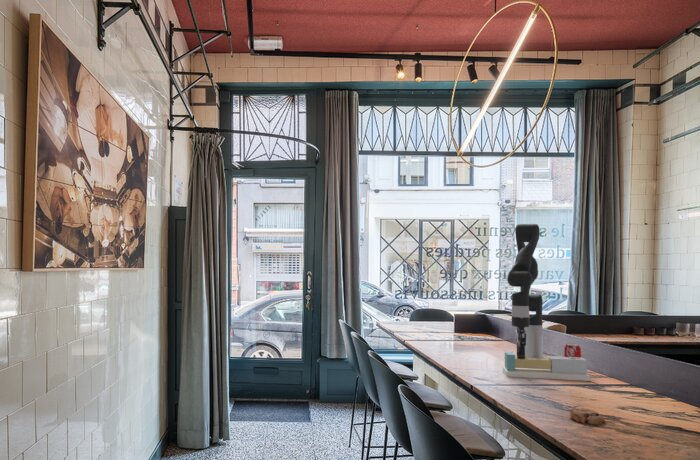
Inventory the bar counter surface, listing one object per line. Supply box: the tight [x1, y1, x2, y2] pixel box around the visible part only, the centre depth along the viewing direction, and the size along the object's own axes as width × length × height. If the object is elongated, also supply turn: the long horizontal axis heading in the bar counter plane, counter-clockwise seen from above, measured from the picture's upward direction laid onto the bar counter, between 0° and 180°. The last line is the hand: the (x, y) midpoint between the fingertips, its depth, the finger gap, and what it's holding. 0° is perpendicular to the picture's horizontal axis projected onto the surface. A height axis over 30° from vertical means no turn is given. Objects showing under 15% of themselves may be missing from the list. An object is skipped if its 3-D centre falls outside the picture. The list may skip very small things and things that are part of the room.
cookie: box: [569, 407, 606, 426], centre depth 149 cm, size 10×11×3 cm
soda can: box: [563, 342, 582, 358], centre depth 219 cm, size 7×7×12 cm
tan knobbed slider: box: [515, 343, 552, 370], centre depth 209 cm, size 4×20×10 cm, turn 80°
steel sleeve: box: [548, 355, 588, 374], centre depth 206 cm, size 6×14×6 cm, turn 80°
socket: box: [504, 350, 516, 371], centre depth 210 cm, size 8×3×7 cm, turn 170°
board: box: [502, 365, 591, 382], centre depth 207 cm, size 12×34×2 cm, turn 80°
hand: (520, 354), depth 210 cm, fingers open, 4 cm apart
